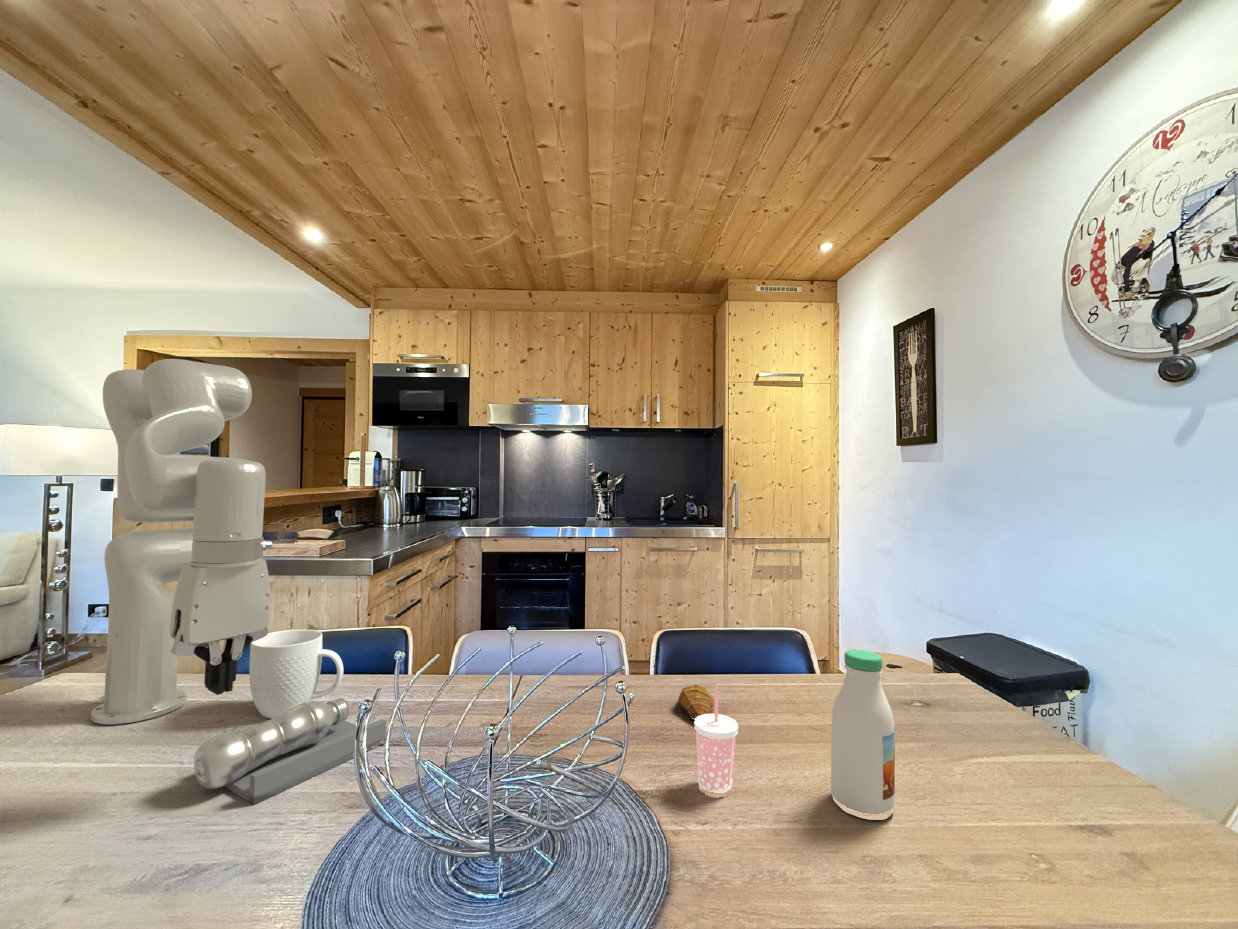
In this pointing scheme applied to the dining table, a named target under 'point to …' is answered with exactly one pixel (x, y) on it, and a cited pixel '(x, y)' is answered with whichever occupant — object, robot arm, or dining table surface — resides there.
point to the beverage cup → (715, 749)
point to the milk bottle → (863, 738)
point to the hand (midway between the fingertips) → (219, 690)
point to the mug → (288, 670)
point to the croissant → (696, 700)
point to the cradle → (304, 762)
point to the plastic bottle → (265, 741)
